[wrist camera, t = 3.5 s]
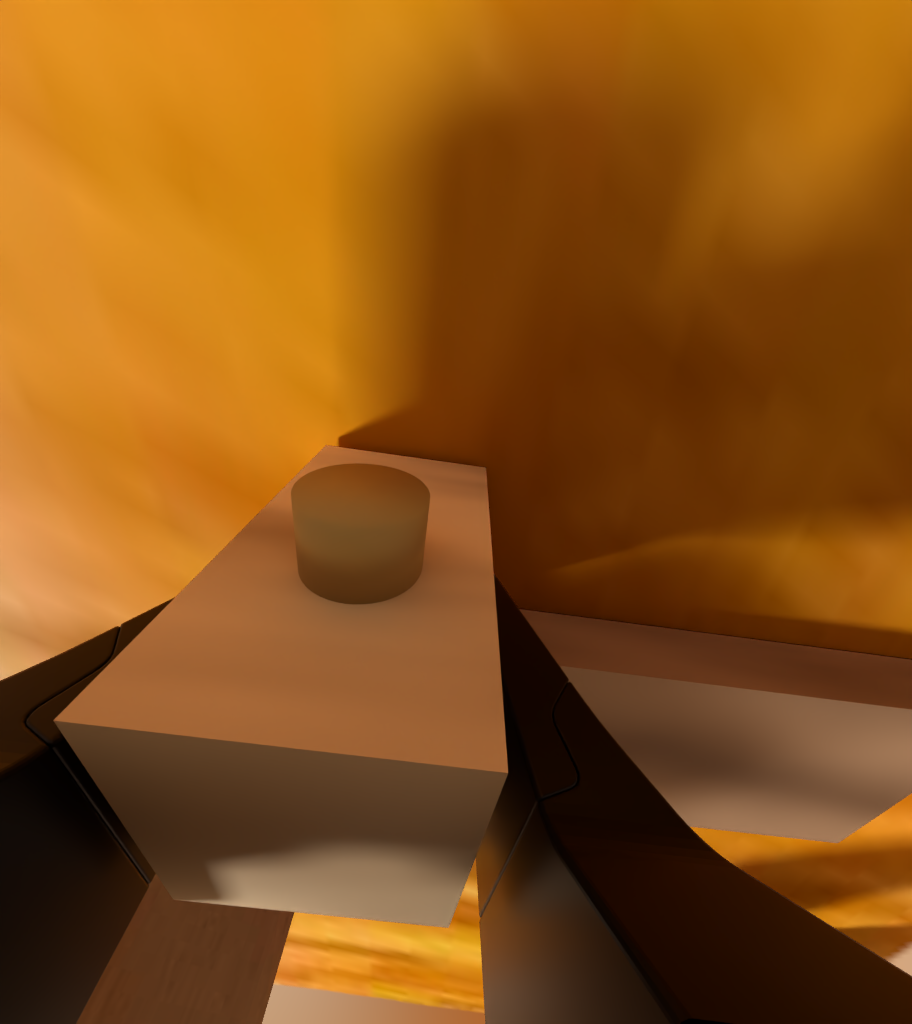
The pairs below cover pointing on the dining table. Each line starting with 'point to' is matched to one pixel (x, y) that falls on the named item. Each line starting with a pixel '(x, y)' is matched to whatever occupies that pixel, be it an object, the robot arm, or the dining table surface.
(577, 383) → the dining table surface
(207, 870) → the block
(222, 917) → the wooden block
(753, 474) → the dining table surface
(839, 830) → the walnut board
